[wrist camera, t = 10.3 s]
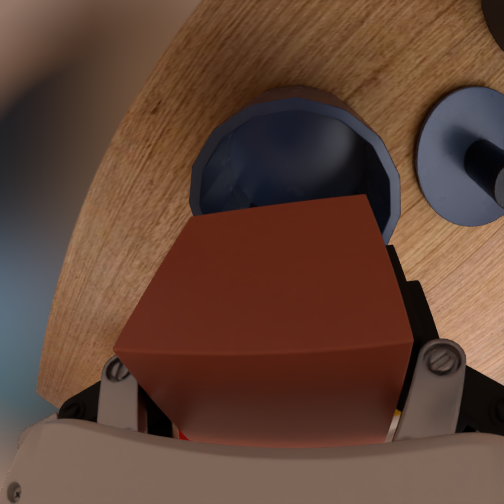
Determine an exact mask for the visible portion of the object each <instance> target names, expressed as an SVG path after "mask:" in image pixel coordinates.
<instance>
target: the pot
mask: <svg viewBox="0 0 504 504" xmlns="http://www.w3.org/2000/svg"><path fill="white" fill-rule="evenodd" d="M362 194H365V195H366V196H367V199H368V201H369V204H370V206H371V209H372V211H373V214H374V217H375V219H376V222H377V224H378V227H379V230H380V232H381V235H382V238H383V241H384V244H385V245H388V243H389V240H390V238H391V236H392V234H393V231H394V229H395V227H396V224H397V222H398V220H399V217H400V215H401V199H400V175H399V173H398V171H397V169H396V167H395V165H394V163H393V160H392V158H391V156H390V154H389V152H388V150H387V148H386V146H385V144H384V142H383V141H382V139H381V138H380V136H379V135H378V134H377V133H376V132H375V131H374V130H373V129H372V128H371V127H370V126H369V125H368V124H367V123H366V122H365V121H364V120H363V119H362V118H361V117H360V116H359V115H358V114H357V113H356V112H355V111H354V110H353V109H352V108H350V107H349V106H348V105H346V104H345V103H344V102H343V101H341V100H340V99H338V98H337V97H336V96H334V95H333V94H332V93H330V92H326V91H322V90H319V89H316V88H311V87H306V86H301V85H295V86H288V87H281V88H277V89H271V90H268V91H265V92H264V93H262V94H261V95H259V96H258V97H256V98H254V99H253V100H251V101H250V102H248V103H247V104H245V105H244V106H242V107H241V108H240V109H239V110H237V111H236V112H235V113H234V114H232V115H231V116H230V117H229V118H227V119H226V120H225V121H224V122H223V123H221V124H220V125H219V126H218V127H217V128H215V129H214V130H213V131H212V133H211V134H210V136H209V138H208V140H207V141H206V143H205V145H204V146H203V148H202V150H201V151H200V153H199V155H198V157H197V158H196V160H195V162H194V164H193V166H192V175H191V186H190V198H189V203H190V208H191V211H192V214H193V216H199V215H206V214H212V213H219V212H225V211H232V210H239V209H246V208H253V207H261V206H268V205H276V204H283V203H291V202H299V201H308V200H316V199H325V198H333V197H343V196H352V195H362Z"/></svg>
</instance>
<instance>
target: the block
mask: <svg viewBox="0 0 504 504" xmlns="http://www.w3.org/2000/svg"><path fill="white" fill-rule="evenodd" d="M413 341H414V339H413V335H412V331H411V328H410V324H409V320H408V316H407V313H406V309H405V306H404V302H403V299H402V296H401V292H400V289H399V286H398V283H397V279H396V276H395V273H394V270H393V267H392V264H391V261H390V258H389V255H388V252H387V249H386V246H385V244H384V241H383V238H382V235H381V232H380V230H379V227H378V224H377V222H376V219H375V217H374V214H373V211H372V209H371V206H370V204H369V201H368V199H367V196H366V195H365V194H362V195H352V196H343V197H333V198H325V199H316V200H308V201H299V202H291V203H283V204H276V205H268V206H261V207H253V208H246V209H239V210H232V211H225V212H219V213H212V214H206V215H199V216H193V217H190V219H189V221H188V222H187V224H186V225H185V227H184V228H183V230H182V231H181V233H180V235H179V236H178V238H177V239H176V241H175V243H174V244H173V246H172V247H171V249H170V251H169V252H168V254H167V255H166V257H165V259H164V260H163V262H162V264H161V265H160V267H159V269H158V270H157V272H156V273H155V275H154V277H153V279H152V280H151V282H150V284H149V285H148V287H147V289H146V290H145V292H144V294H143V295H142V297H141V299H140V301H139V302H138V304H137V306H136V308H135V309H134V311H133V313H132V315H131V316H130V318H129V320H128V322H127V324H126V325H125V327H124V329H123V331H122V333H121V334H120V336H119V338H118V340H117V342H116V343H115V345H114V347H113V351H114V352H115V354H116V355H117V356H118V358H119V359H120V360H121V362H122V363H123V364H124V365H125V367H126V368H127V369H128V371H129V372H130V373H131V374H132V376H133V377H134V378H135V379H136V381H137V382H138V383H139V384H140V386H141V387H142V388H143V389H144V391H145V392H146V393H147V394H148V395H149V396H150V398H151V399H152V400H153V401H154V402H155V403H156V405H157V406H158V407H159V408H160V409H161V410H162V411H163V413H164V414H165V415H166V416H167V417H168V418H169V419H170V420H171V421H172V423H173V424H174V425H175V426H176V427H177V428H178V429H179V430H180V431H181V432H182V433H183V434H184V435H185V436H186V437H187V438H188V439H189V440H190V441H195V442H203V443H212V444H222V445H233V446H247V447H269V448H321V447H341V446H355V445H366V444H377V443H385V440H386V437H387V435H388V432H389V429H390V426H391V423H392V420H393V417H394V413H395V410H396V407H397V404H398V400H399V397H400V393H401V390H402V386H403V383H404V379H405V375H406V371H407V367H408V363H409V359H410V355H411V350H412V346H413Z"/></svg>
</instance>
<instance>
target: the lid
mask: <svg viewBox="0 0 504 504" xmlns="http://www.w3.org/2000/svg"><path fill="white" fill-rule="evenodd" d="M415 165H416V174H417V179H418V182H419V185H420V188H421V191H422V193H423V195H424V197H425V198H426V200H427V201H428V203H429V204H430V206H431V207H432V208H433V209H434V210H435V212H436V213H438V214H439V215H440V216H441V217H442V218H444V219H446V220H447V221H449V222H452V223H454V224H457V225H461V226H468V227H470V226H481V225H485V224H488V223H491V222H493V221H495V220H497V219H498V218H500V217H502V216H503V215H504V95H503V94H502V93H500V92H498V91H496V90H493V89H490V88H487V87H481V86H468V87H462V88H460V89H457V90H454V91H452V92H451V93H449V94H447V95H446V96H444V97H443V98H442V99H441V100H439V101H438V103H437V104H436V105H435V106H434V107H433V108H432V110H431V111H430V112H429V114H428V115H427V117H426V119H425V121H424V123H423V125H422V127H421V130H420V133H419V136H418V140H417V145H416V153H415Z"/></svg>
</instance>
